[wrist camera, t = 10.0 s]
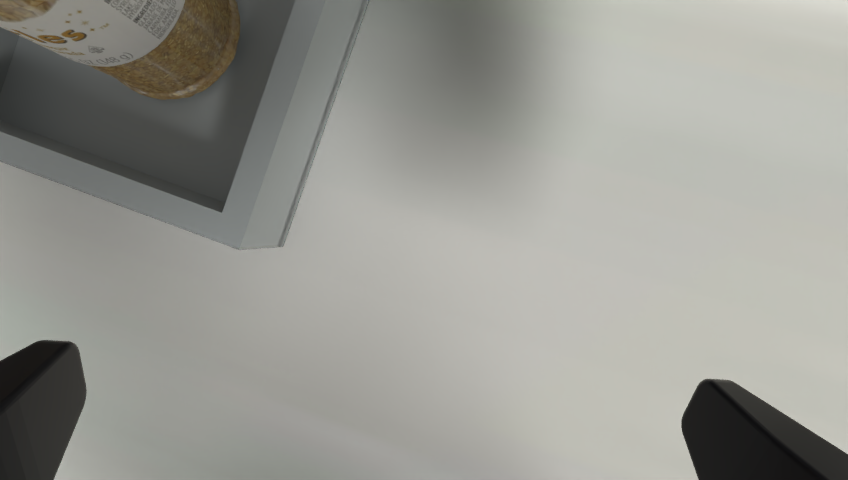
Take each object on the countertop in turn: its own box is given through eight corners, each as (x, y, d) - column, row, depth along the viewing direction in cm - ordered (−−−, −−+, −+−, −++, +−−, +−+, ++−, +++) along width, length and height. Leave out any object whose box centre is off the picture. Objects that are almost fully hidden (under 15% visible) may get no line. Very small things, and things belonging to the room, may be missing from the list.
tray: (283, 246, 18) (239, 249, 14) (-19, 135, 18) (-132, 112, 15) (396, -80, 17) (380, -159, 14) (84, -182, 18) (-8, -282, 14)
